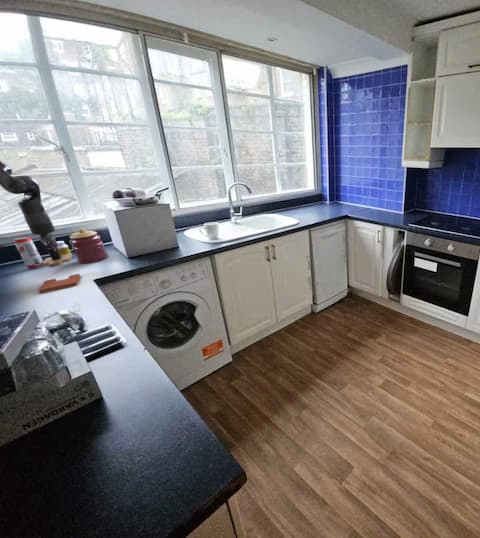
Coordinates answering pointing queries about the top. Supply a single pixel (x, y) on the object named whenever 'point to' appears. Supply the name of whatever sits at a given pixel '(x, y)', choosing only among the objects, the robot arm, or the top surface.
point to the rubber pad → (59, 283)
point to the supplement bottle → (63, 248)
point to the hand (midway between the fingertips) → (57, 258)
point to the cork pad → (58, 262)
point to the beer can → (28, 252)
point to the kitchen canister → (87, 246)
